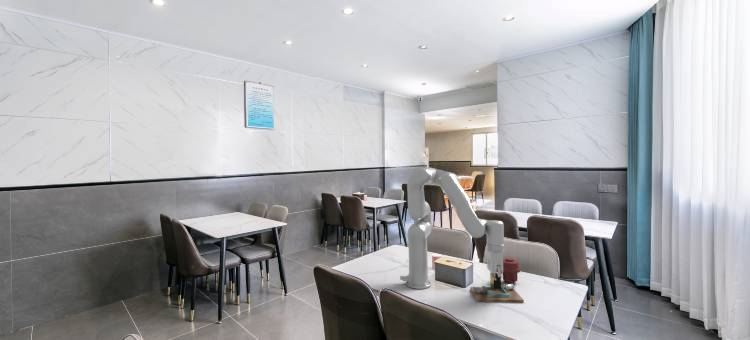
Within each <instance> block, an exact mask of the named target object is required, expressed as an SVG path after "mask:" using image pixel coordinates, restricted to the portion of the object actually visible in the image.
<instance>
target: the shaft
mask: <svg viewBox="0 0 750 340" xmlns="http://www.w3.org/2000/svg"><path fill="white" fill-rule="evenodd" d="M501 287H504V289H505V290H506V291H507V292H508V291H509V290H512V289H514V290H515V285H514V283H513V284H508V283H503V284H501Z"/></svg>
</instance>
